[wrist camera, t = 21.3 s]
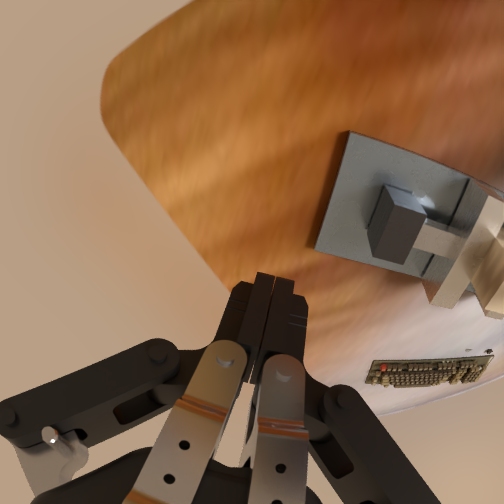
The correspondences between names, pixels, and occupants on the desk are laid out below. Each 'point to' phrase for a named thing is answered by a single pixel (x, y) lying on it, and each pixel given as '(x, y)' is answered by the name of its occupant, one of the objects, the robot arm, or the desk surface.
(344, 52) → the desk surface
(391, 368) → the keyboard
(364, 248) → the vise base
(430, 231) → the free jaw
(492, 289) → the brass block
